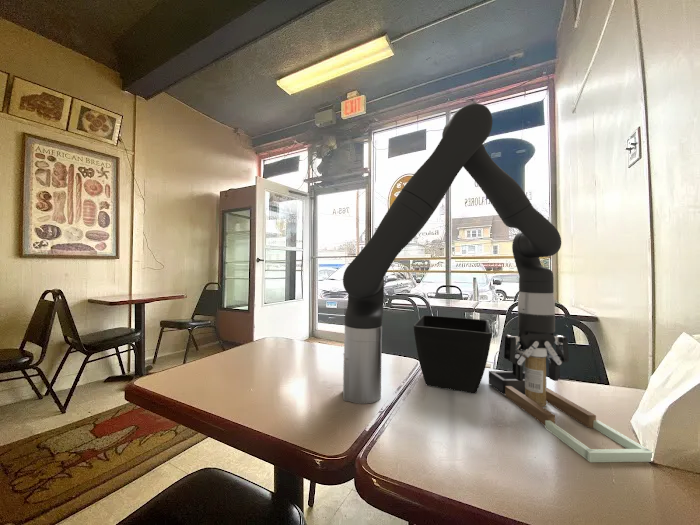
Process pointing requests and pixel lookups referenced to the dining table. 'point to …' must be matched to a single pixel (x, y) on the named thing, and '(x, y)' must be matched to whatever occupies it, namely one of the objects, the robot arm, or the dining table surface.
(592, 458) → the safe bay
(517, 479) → the dining table surface
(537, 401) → the sprinkles bottle
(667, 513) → the dining table surface
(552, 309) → the robot arm
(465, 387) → the flower pot
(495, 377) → the bin
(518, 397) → the channel
